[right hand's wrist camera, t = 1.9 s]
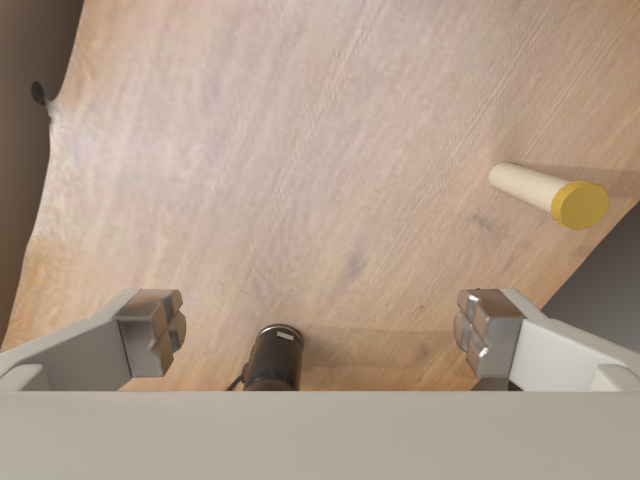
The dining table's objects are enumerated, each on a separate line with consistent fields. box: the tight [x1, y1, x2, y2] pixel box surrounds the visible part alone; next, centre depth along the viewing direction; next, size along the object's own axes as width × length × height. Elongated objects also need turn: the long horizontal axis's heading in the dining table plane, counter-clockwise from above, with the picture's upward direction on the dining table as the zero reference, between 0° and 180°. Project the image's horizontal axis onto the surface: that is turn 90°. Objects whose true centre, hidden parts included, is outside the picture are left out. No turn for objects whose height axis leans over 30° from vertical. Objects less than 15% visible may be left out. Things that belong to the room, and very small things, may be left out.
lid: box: [551, 180, 609, 230], centre depth 40 cm, size 6×6×2 cm
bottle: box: [489, 162, 573, 215], centre depth 48 cm, size 5×5×18 cm
